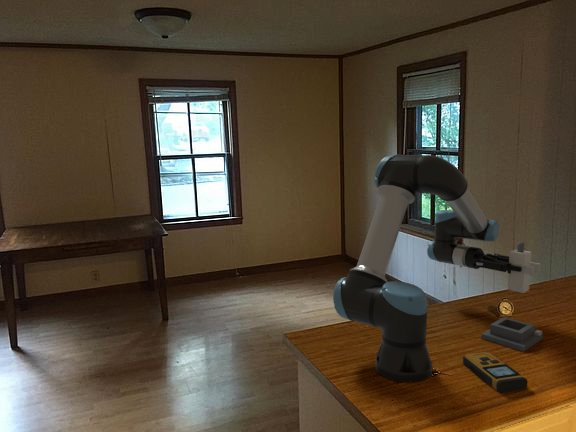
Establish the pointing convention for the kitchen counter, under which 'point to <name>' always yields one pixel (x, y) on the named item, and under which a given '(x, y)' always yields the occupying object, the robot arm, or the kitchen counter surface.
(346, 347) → the kitchen counter surface
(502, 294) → the kitchen counter surface
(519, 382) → the electronic device
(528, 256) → the plug
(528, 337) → the socket
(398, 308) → the robot arm
